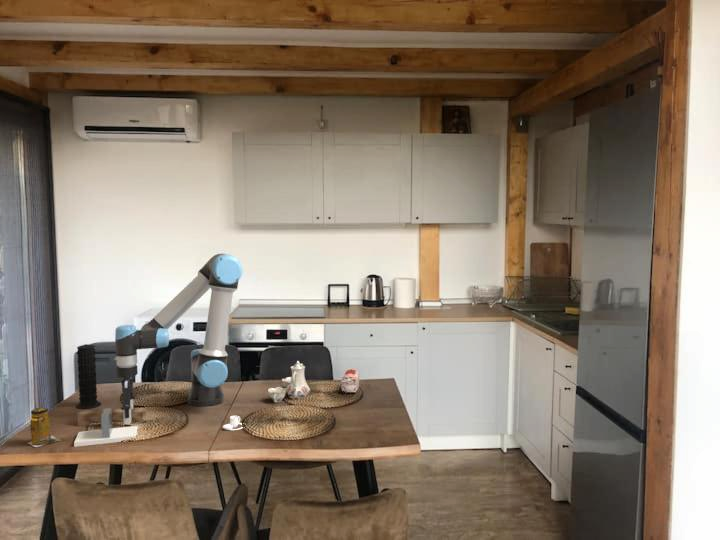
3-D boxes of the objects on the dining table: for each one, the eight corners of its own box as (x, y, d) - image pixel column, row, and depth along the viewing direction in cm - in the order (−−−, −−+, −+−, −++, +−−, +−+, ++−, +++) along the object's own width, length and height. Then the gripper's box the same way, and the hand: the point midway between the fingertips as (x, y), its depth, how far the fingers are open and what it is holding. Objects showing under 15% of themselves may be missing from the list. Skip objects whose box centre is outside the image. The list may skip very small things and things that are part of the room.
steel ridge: (112, 429, 214) (111, 408, 213) (109, 437, 205) (108, 415, 204) (104, 430, 213) (104, 408, 212) (101, 438, 204) (101, 416, 204)
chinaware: (283, 390, 274) (279, 355, 273) (318, 388, 272) (314, 353, 271) (265, 409, 247) (261, 370, 246) (303, 406, 244) (299, 367, 243)
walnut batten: (145, 420, 228) (145, 408, 228) (142, 424, 224) (142, 411, 224) (82, 423, 226) (81, 410, 226) (78, 426, 222) (77, 413, 222)
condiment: (27, 443, 205) (25, 409, 204) (52, 436, 211) (50, 403, 210) (35, 448, 200) (33, 414, 199) (60, 441, 206) (59, 407, 206)
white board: (138, 429, 217) (137, 425, 217) (136, 440, 207) (136, 435, 207) (79, 435, 211) (79, 431, 211) (74, 446, 201) (74, 442, 201)
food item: (358, 395, 261) (358, 373, 260) (340, 394, 261) (340, 373, 260) (360, 386, 274) (359, 366, 273) (343, 386, 275) (343, 365, 274)
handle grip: (70, 408, 243) (91, 409, 241) (67, 346, 241) (88, 347, 239) (85, 401, 253) (106, 402, 251) (83, 341, 251) (104, 342, 249)
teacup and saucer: (224, 432, 215) (224, 422, 214) (219, 426, 222) (219, 416, 221) (247, 429, 219) (247, 418, 218) (241, 422, 226) (241, 412, 225)
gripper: (119, 359, 235) (121, 412, 237) (113, 373, 213) (115, 431, 215) (139, 358, 238) (140, 410, 239) (135, 371, 215) (137, 429, 217)
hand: (128, 420), depth 227 cm, fingers open, 11 cm apart
